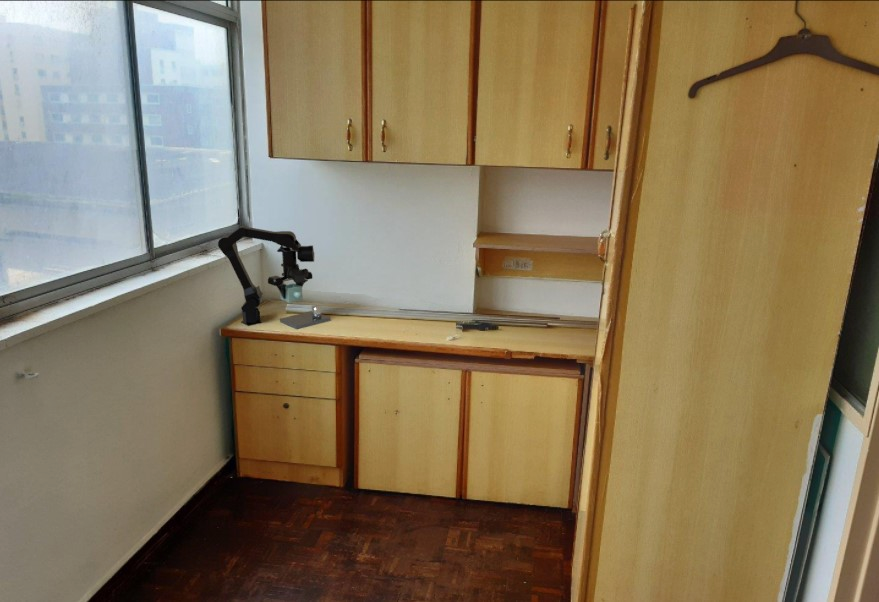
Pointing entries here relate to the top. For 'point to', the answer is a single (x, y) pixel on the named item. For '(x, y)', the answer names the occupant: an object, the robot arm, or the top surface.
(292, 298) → the duct collar
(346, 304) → the top surface
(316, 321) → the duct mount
